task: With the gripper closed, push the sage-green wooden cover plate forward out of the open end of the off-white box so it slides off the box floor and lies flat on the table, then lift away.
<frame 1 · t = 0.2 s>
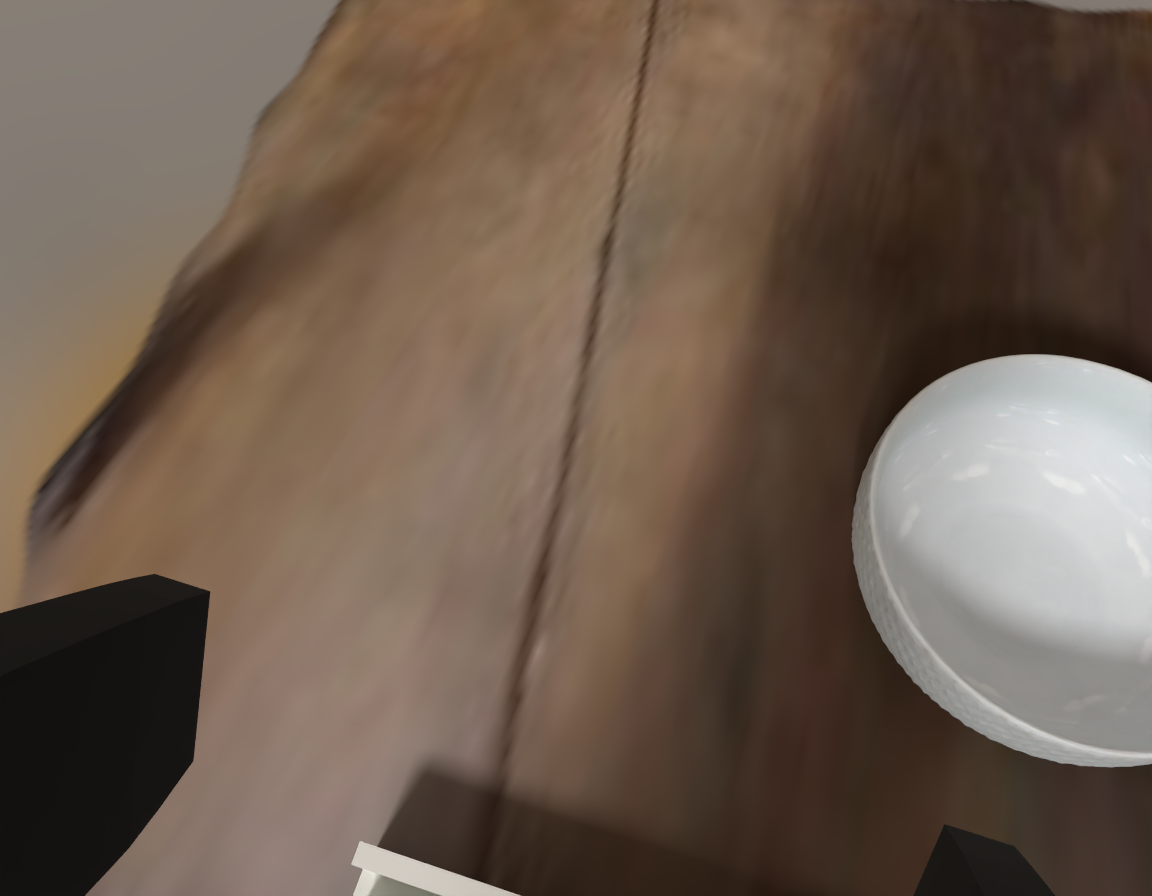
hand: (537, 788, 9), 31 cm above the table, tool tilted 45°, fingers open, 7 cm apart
cereal bowl: (1006, 594, 43), on the table
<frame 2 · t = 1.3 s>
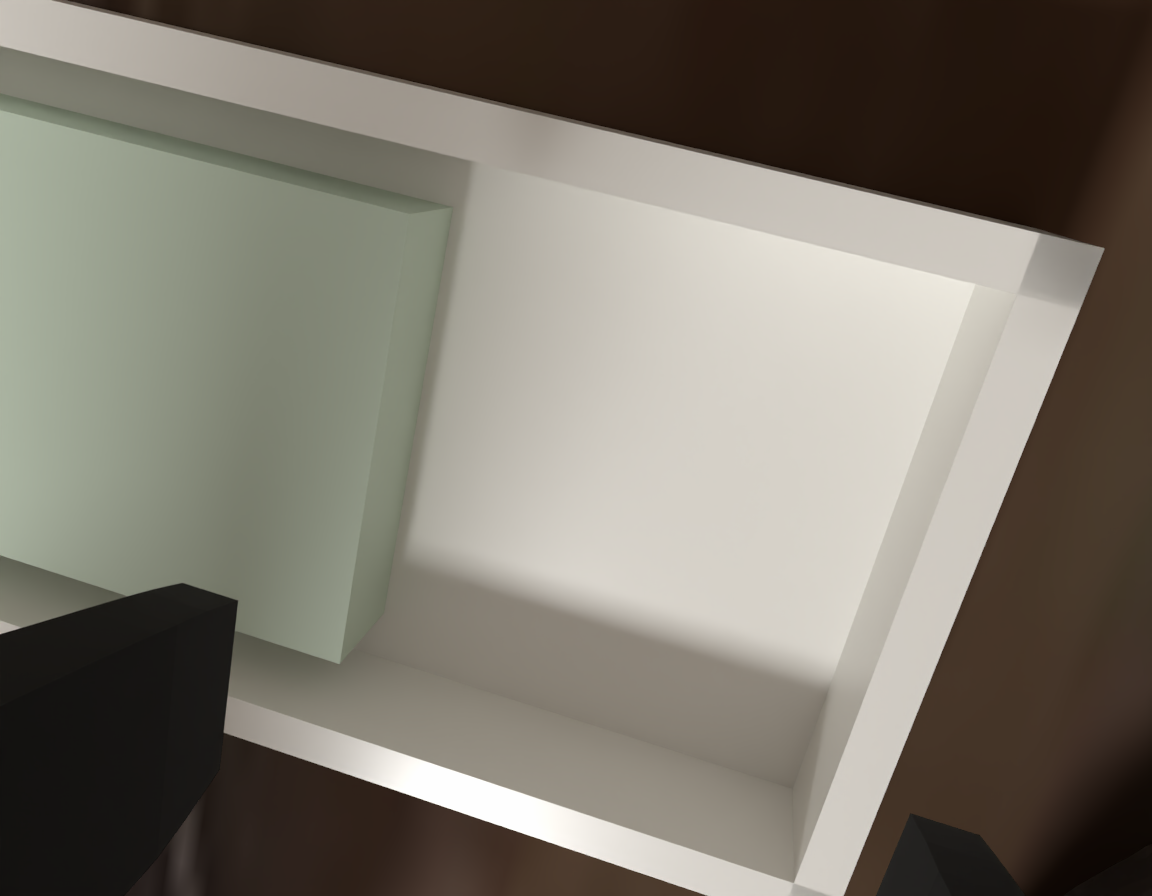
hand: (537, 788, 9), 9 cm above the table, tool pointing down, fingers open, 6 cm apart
box: (362, 391, 19), on the table
cover plate: (146, 349, 18), point 1 cm above the table, touching box
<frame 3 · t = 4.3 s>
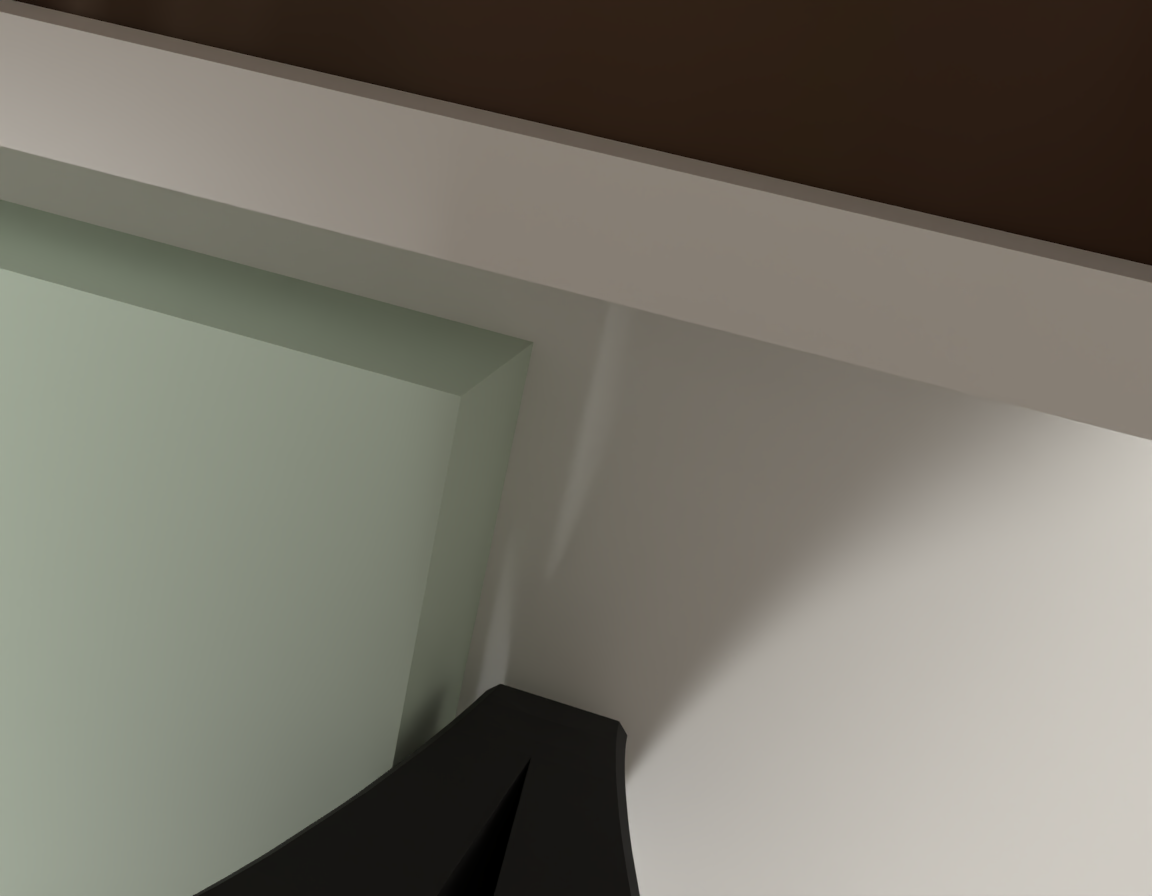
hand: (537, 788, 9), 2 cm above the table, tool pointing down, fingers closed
box: (467, 664, 11), on the table
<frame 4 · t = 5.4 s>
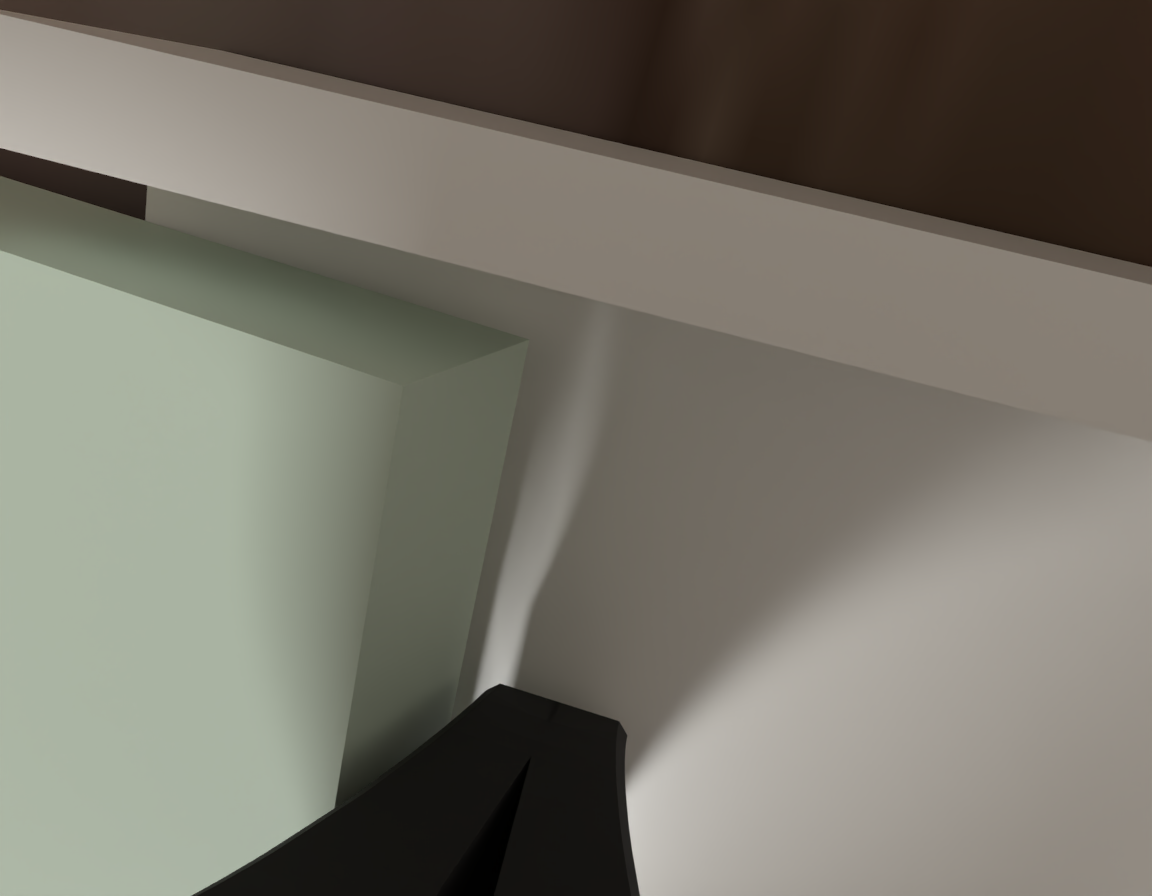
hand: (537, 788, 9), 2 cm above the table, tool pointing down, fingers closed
box: (1047, 846, 10), on the table
cover plate: (8, 547, 10), point 1 cm above the table, tilted 9°
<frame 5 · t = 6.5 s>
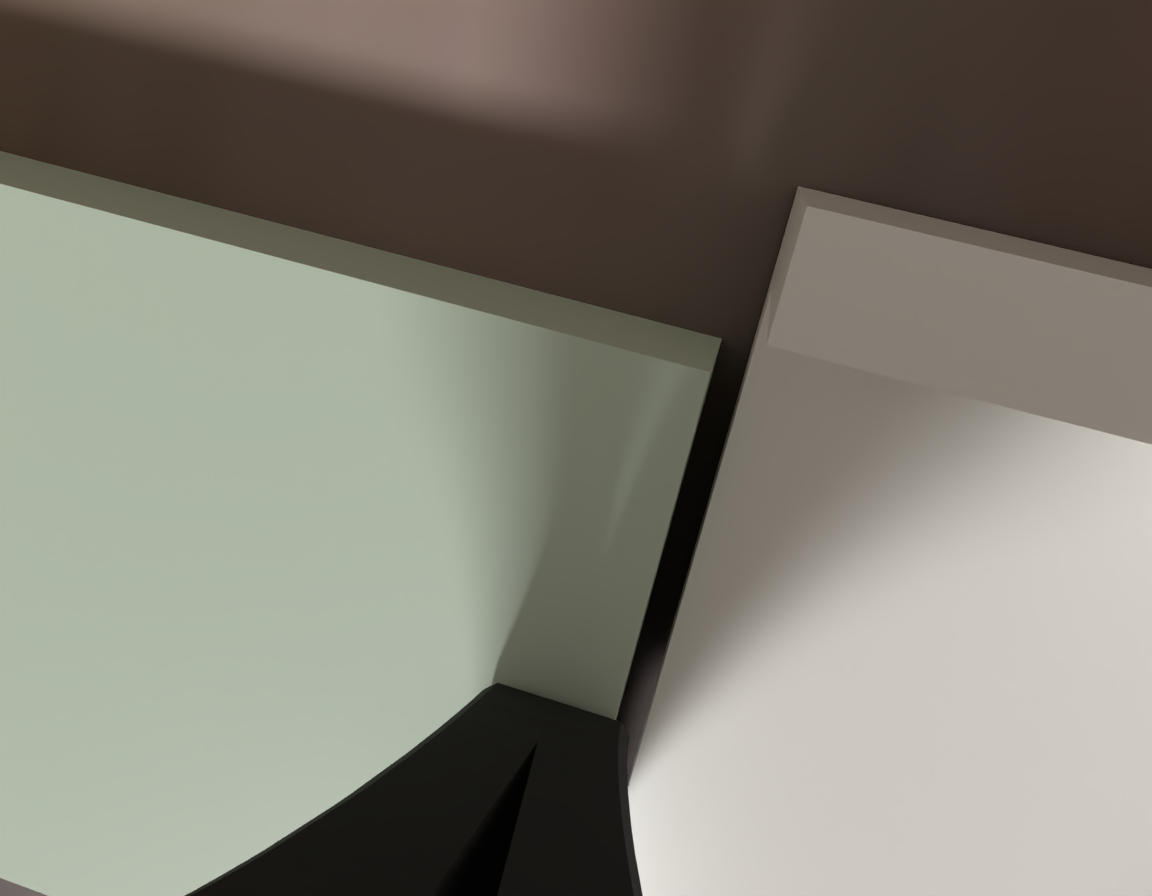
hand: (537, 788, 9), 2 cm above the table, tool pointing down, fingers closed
cover plate: (196, 531, 12), on the table
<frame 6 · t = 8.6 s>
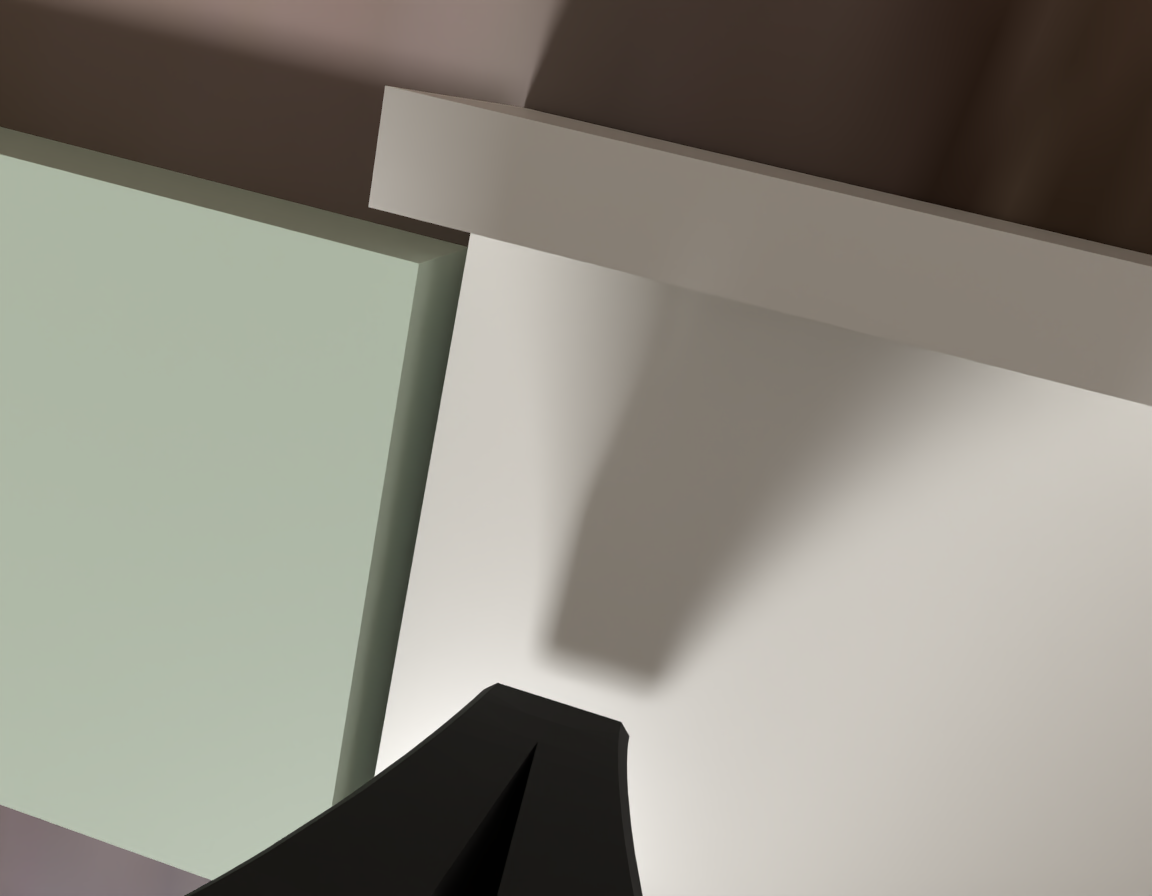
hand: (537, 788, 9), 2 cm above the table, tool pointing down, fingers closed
cover plate: (38, 440, 13), on the table
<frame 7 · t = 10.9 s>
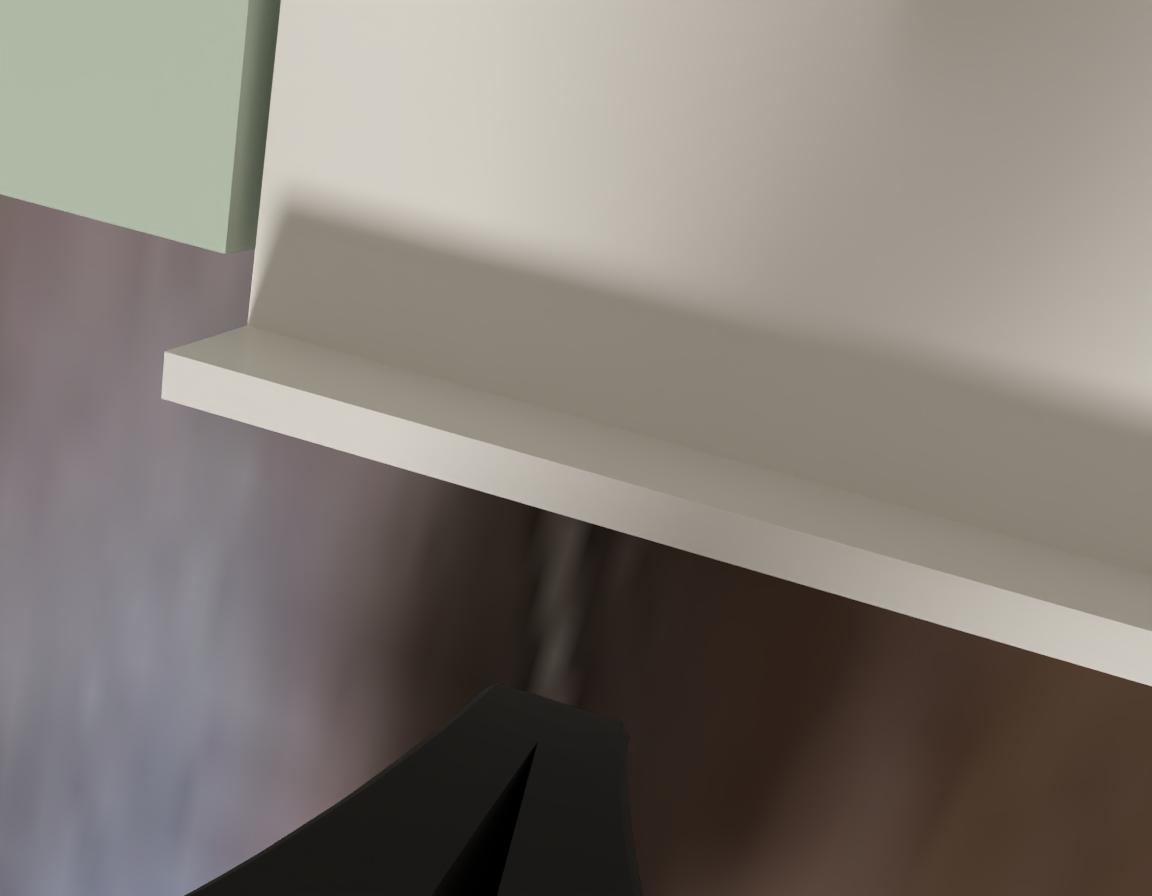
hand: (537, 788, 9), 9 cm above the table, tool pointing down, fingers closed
box: (866, 175, 16), on the table
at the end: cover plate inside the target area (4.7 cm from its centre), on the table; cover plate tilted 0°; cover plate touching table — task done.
